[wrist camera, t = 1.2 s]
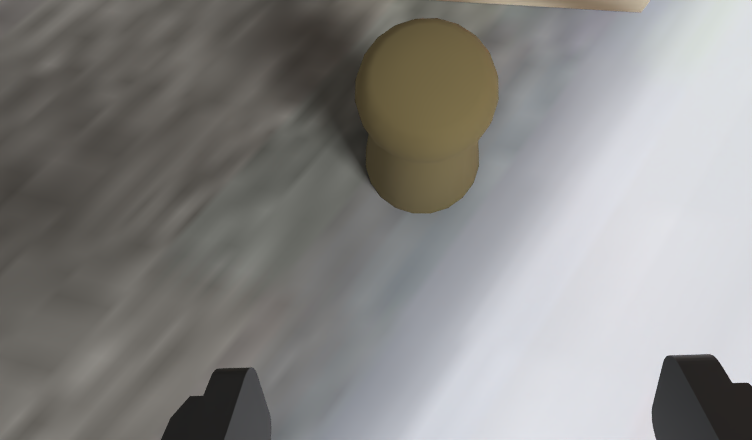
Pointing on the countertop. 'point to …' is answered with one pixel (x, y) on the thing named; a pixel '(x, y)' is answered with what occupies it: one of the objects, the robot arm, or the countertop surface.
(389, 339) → the countertop surface
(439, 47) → the cork
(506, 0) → the peg board
